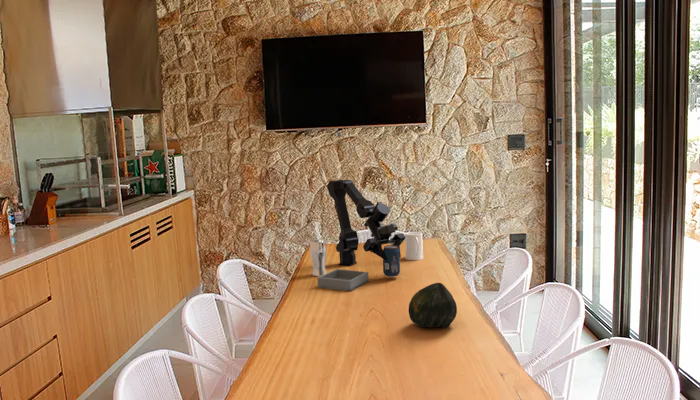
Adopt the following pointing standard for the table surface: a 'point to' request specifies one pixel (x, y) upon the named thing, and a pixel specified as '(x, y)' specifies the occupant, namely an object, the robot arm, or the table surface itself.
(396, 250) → the soda can
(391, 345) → the table surface
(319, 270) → the beer glass
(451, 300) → the squash
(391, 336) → the table surface
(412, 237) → the mug
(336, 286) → the open box
